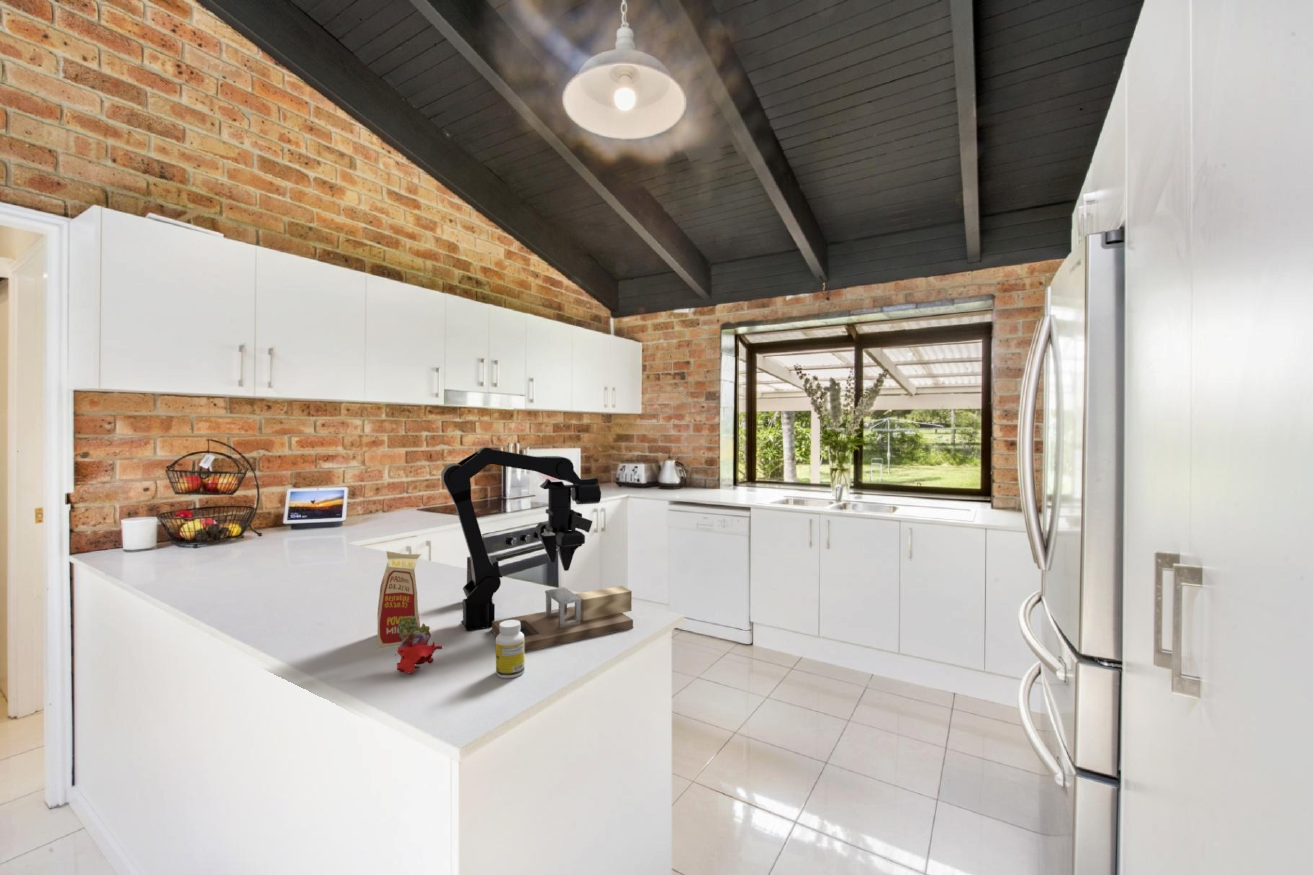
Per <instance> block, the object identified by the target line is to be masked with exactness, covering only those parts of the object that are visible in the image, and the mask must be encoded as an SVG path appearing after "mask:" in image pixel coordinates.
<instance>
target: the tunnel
mask: <svg viewBox="0 0 1313 875" xmlns="http://www.w3.org/2000/svg"><path fill="white" fill-rule="evenodd" d="M544 593H545V612H546V617H547V618H550V617H555V616H559V628H560V629H561V628H566V627H571V626H576V625H580V622H581V598H580V597H578V596H577V595H575V594H576V593H574V592H572V591H570V590H569V589H567V588H566V587H560V588H553V589H547V590H545V591H544ZM552 600H554V601H555V602H557V603H558V609H559V610H557V609H556V610H557V611H552V612H551V610H552ZM568 604H574V606H575V620H571V621H566V622H564V615H566V614H567V607H568Z"/></svg>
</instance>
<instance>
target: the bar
mask: <svg viewBox="0 0 1313 875" xmlns="http://www.w3.org/2000/svg"><path fill="white" fill-rule="evenodd" d="M574 594H575V595H577V596H578V597H580V598H581V619H582V620H583V621H584V620H589V619H594V618H599V617H604V616H609V615H614V614H619V613H623V614H625V613H628V612H632V600H633V599H632V590H631V589H629V588H627V587H625V586H623V585H621V586H620V585H619V586H615V587H607V588H603V589H596V590H590V591H584V592H579V593H574Z"/></svg>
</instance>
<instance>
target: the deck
mask: <svg viewBox="0 0 1313 875" xmlns="http://www.w3.org/2000/svg"><path fill="white" fill-rule="evenodd" d="M557 610H559V608H557V609H553V610H552V609H551V612H552V611H557ZM506 620H518V621H520V624H521V628H520V632H522V633H523V634H524V652H530V651H535V650H541V649H544V648H549V647H552V646H558V645H562V644H567V643H571V642H576V641H580V640H585V639H590V638H593V637H598V636H602V635H608V634H613V633H616V632H621V631H626V630H630V629H634V619H632V618H631V617H629V616H628V615H626V614H625V613H619V614H614V615H609V616H604V617H599V618H594V619H589V620H584V621H583V620H582V619H581V622H580V625H576V626H571V627H566V628H561V629H560V628H559V616H555V617H550V618H547V617H546V611H541V612H536V613H530V614H525V615H519V616H514V617H510V618H503V619H499V620H494V621H492V626H491V631H492V632H493V633H494V634H495V636H496V637H497V636H498V635H499V634H500V631H499V624H500V623H501V622H503V621H506ZM571 620H575V605H574V606H567V614H566V615H564V622H566V621H571Z"/></svg>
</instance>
